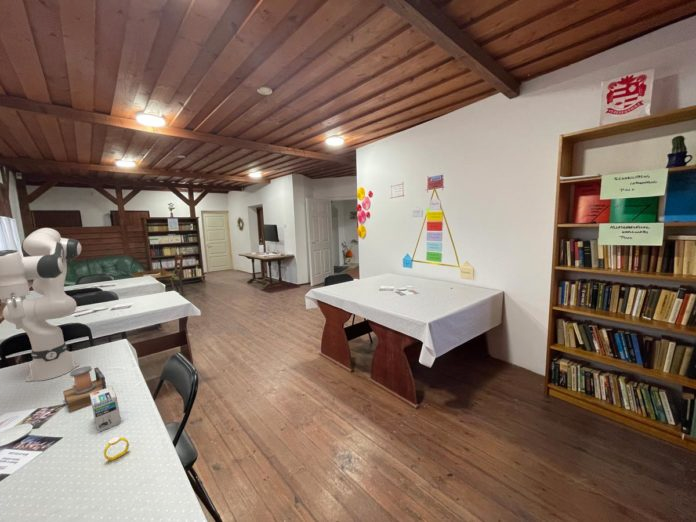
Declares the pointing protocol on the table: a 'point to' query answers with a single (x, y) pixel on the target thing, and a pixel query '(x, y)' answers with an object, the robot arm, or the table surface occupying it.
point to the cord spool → (82, 380)
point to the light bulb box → (105, 408)
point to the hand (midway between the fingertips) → (19, 326)
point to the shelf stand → (84, 399)
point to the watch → (112, 442)
